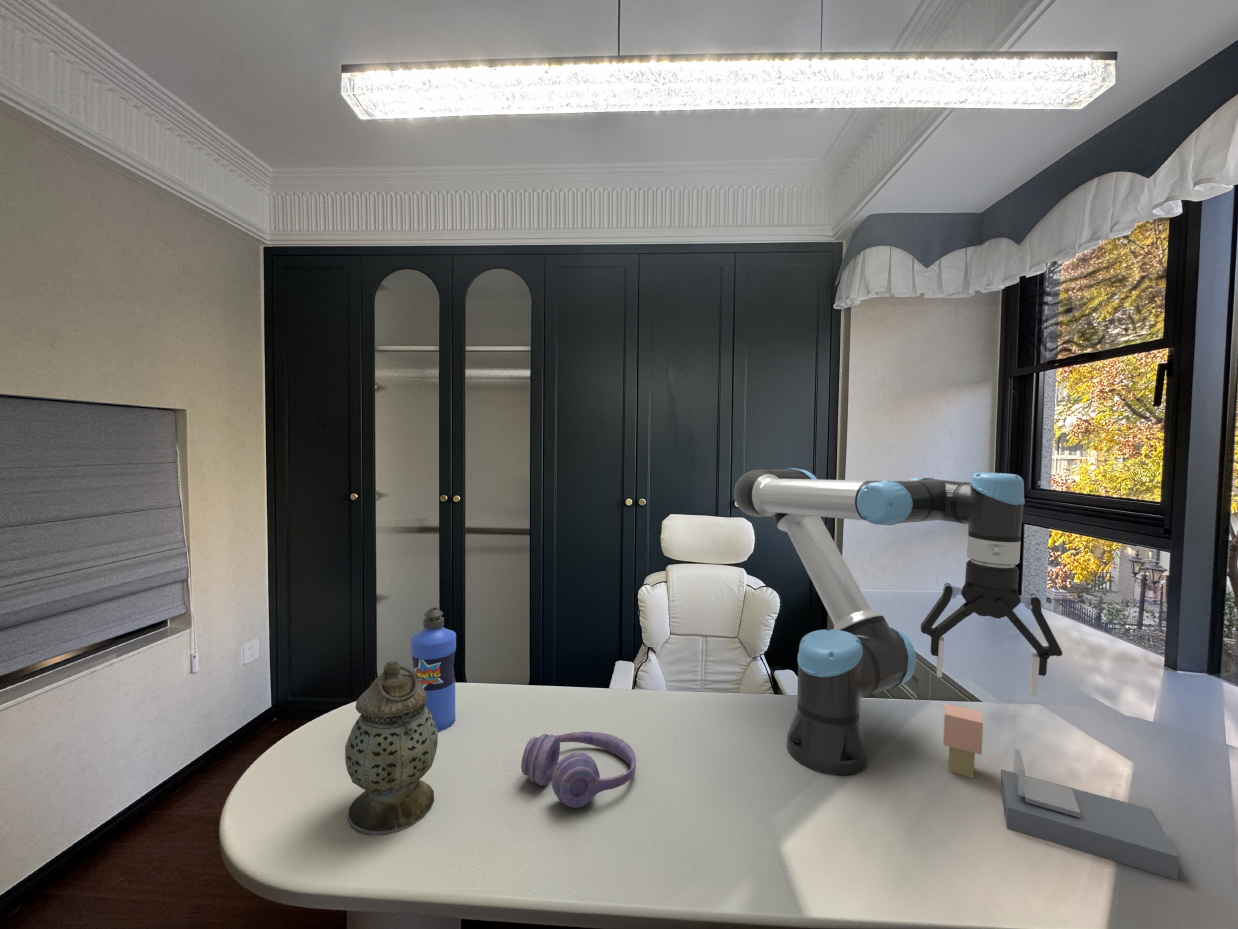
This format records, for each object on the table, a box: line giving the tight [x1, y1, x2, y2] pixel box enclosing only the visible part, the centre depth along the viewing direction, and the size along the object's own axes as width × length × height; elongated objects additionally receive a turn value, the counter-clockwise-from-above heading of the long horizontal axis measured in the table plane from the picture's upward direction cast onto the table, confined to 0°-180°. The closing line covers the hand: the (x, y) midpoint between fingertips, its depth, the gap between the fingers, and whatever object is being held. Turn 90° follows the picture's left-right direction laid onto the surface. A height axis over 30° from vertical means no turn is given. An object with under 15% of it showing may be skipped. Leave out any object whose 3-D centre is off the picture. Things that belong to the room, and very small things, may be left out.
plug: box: [943, 703, 984, 779], centre depth 104 cm, size 6×5×11 cm
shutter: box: [1012, 748, 1081, 817], centre depth 91 cm, size 8×7×5 cm
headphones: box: [520, 731, 637, 809], centre depth 100 cm, size 18×8×20 cm
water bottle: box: [410, 607, 457, 733], centre depth 118 cm, size 9×9×25 cm
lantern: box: [344, 660, 439, 836], centre depth 91 cm, size 14×14×25 cm
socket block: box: [999, 769, 1180, 881], centre depth 88 cm, size 20×12×4 cm, turn 59°
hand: (984, 683), depth 95 cm, fingers open, 13 cm apart
